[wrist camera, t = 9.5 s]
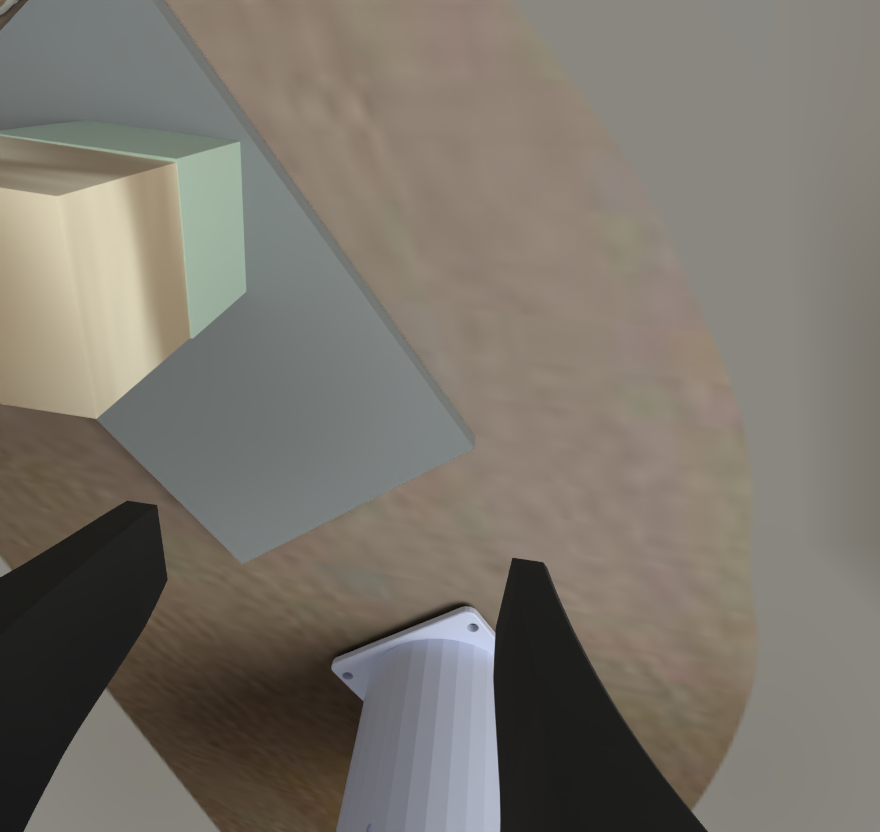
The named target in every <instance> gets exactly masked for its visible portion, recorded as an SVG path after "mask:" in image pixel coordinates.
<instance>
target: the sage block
mask: <svg viewBox="0 0 880 832" xmlns="http://www.w3.org/2000/svg"><path fill="white" fill-rule="evenodd" d="M0 136H5V137H12V138H18V139H25V140H32V141H38V142H45V143H51V144H58V145H64V146H71V147H78V148H84V149H91V150H97V151H104V152H111V153H117V154H124V155H130V156H137V157H143V158H150V159H157V160H163V161H170V162H176V166H177V178H178V191H179V203H180V216H181V228H182V240H183V253H184V265H185V278H186V290H187V303H188V315H189V328H190V338H192V339H193V338H194V337H195V336H196V335H198V334H199V333H200V332H201V331H202V330H203V329H204V328H206V327H207V326H208V325H209V324H210V323H211V322H212V321H213V320H215V319H216V318H217V317H218V316H219V315H220V314H221V313H223V312H224V311H225V310H226V309H227V308H228V307H229V306H231V305H232V304H233V303H234V302H235V301H236V300H237V299H239V298H240V297H241V296H242V295H243V294H244V293H245V292H246V272H245V248H244V223H243V199H242V175H241V150H240V141H233V140H226V139H219V138H212V137H205V136H198V135H190V134H183V133H176V132H169V131H162V130H154V129H147V128H140V127H133V126H126V125H119V124H111V123H104V122H97V121H90V120H83V121H74V122H66V123H58V124H49V125H41V126H33V127H25V128H16V129H8V130H0Z"/></svg>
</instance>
